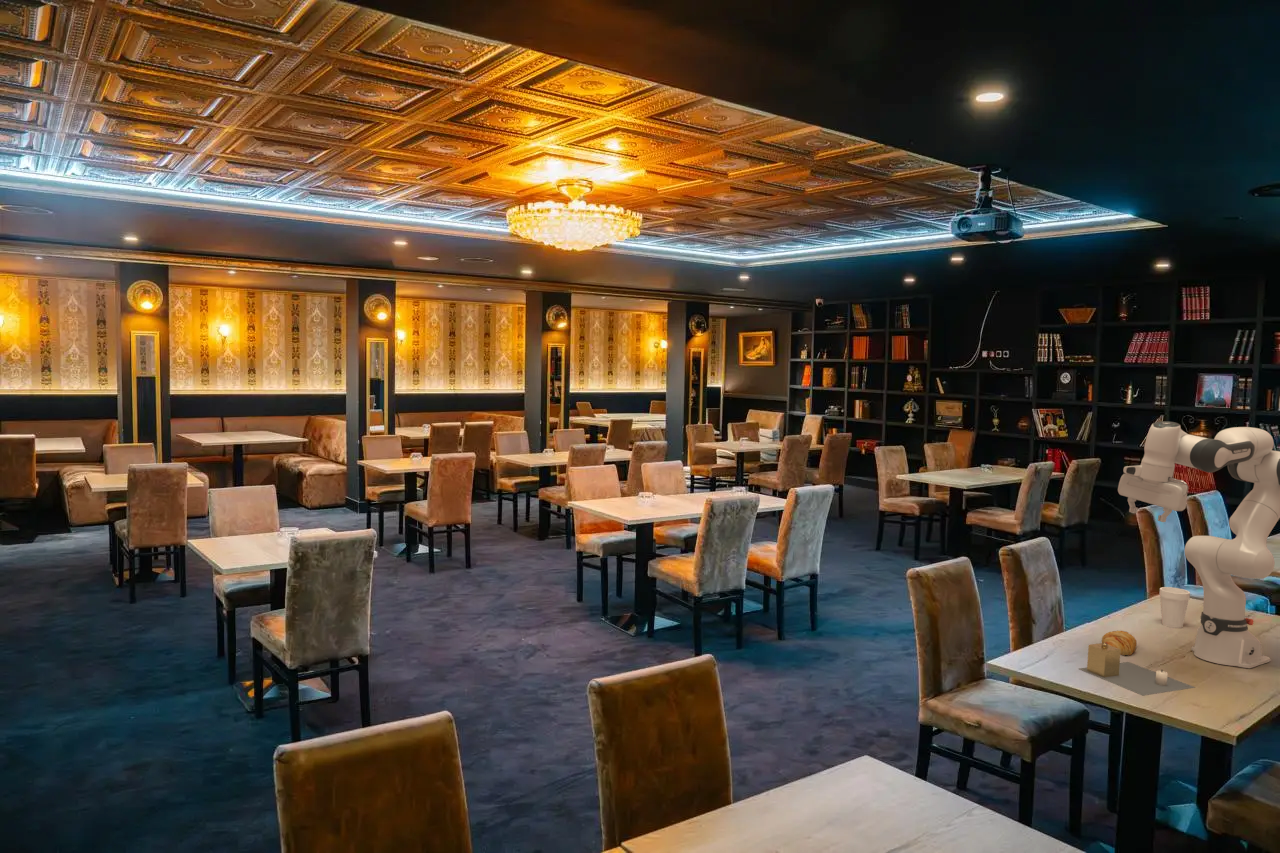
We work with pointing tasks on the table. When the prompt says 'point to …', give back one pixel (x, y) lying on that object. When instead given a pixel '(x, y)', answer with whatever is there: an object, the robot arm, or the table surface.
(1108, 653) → the brass knob block
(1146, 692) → the charcoal mat
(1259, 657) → the robot arm
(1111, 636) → the croissant
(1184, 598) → the foam cup
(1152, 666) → the table surface
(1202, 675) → the table surface
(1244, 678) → the table surface
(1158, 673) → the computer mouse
